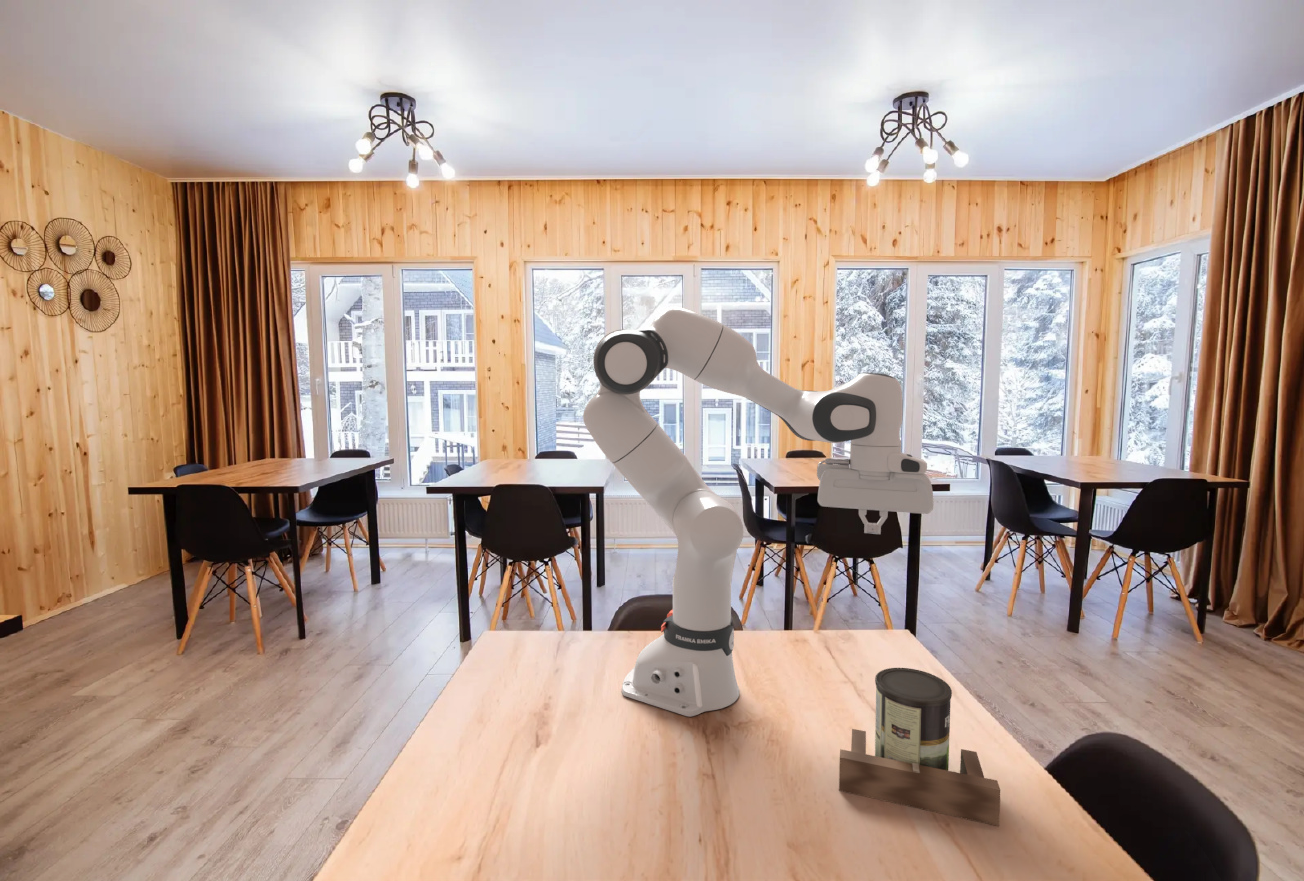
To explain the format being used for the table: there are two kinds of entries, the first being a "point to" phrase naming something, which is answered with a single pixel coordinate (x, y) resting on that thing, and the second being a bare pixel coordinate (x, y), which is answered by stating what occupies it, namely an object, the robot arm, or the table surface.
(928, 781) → the walnut rail
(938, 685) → the coffee can
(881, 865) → the table surface
